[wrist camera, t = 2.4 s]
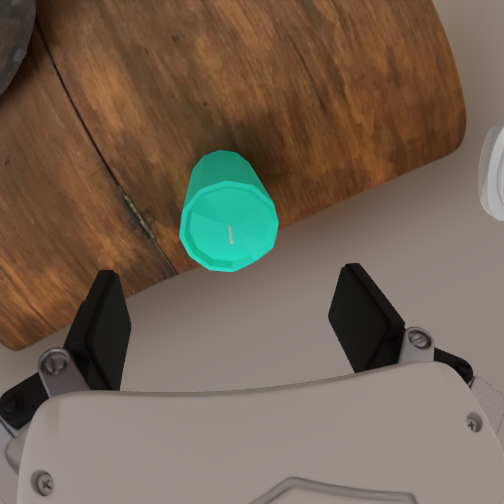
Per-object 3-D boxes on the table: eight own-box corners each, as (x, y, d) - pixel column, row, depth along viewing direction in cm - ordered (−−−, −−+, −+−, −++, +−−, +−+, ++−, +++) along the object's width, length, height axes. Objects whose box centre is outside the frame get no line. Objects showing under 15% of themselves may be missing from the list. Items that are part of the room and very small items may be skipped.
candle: (194, 214, 27) (186, 291, 16) (186, 153, 24) (168, 196, 13) (255, 207, 27) (284, 280, 17) (253, 147, 24) (286, 185, 14)
